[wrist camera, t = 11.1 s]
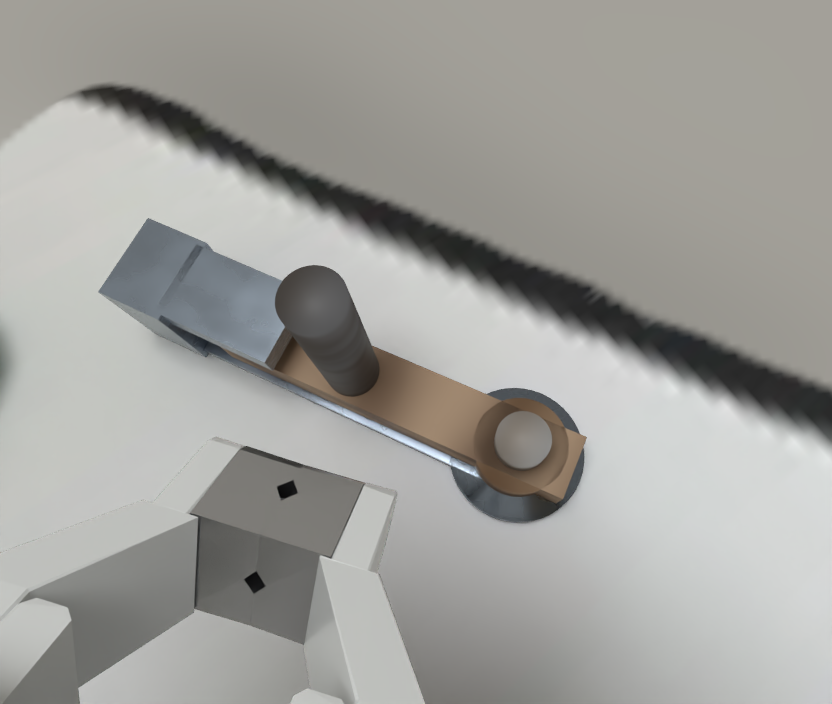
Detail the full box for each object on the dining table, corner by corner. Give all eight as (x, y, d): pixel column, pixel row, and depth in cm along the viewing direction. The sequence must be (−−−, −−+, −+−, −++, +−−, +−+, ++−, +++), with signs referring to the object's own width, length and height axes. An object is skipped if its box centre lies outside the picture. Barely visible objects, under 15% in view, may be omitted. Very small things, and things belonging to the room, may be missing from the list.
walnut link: (582, 433, 35) (646, 369, 23) (550, 516, 33) (600, 494, 21) (265, 298, 39) (179, 184, 27) (225, 367, 37) (116, 279, 25)
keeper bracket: (600, 422, 36) (630, 394, 29) (552, 546, 34) (573, 543, 28) (205, 253, 41) (160, 199, 35) (143, 350, 39) (84, 312, 33)
